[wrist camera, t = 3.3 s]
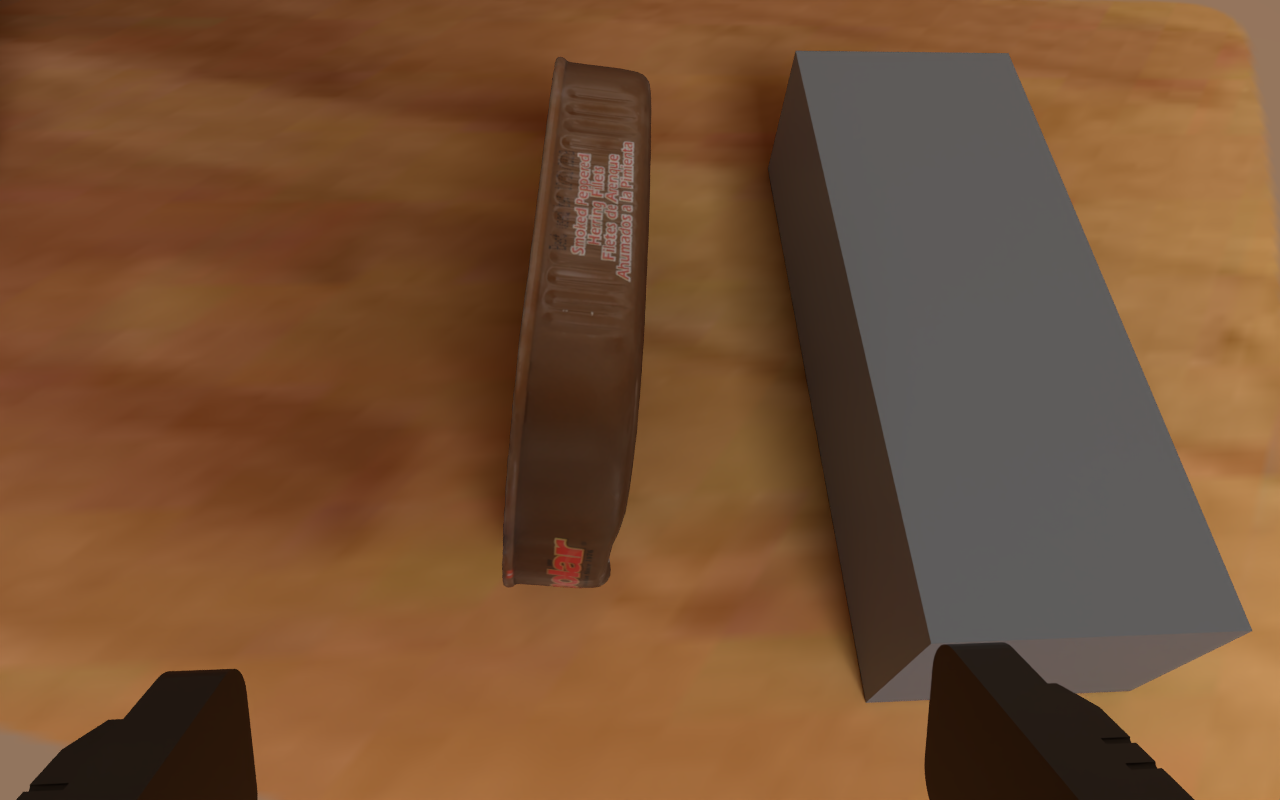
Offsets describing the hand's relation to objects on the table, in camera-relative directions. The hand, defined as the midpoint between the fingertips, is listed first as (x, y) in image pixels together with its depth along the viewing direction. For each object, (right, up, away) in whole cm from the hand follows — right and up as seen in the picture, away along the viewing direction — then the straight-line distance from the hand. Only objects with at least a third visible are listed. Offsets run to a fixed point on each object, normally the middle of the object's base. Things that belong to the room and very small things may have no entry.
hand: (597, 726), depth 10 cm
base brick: (+9, +4, +18) cm, 20 cm away
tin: (-1, +4, +17) cm, 18 cm away
